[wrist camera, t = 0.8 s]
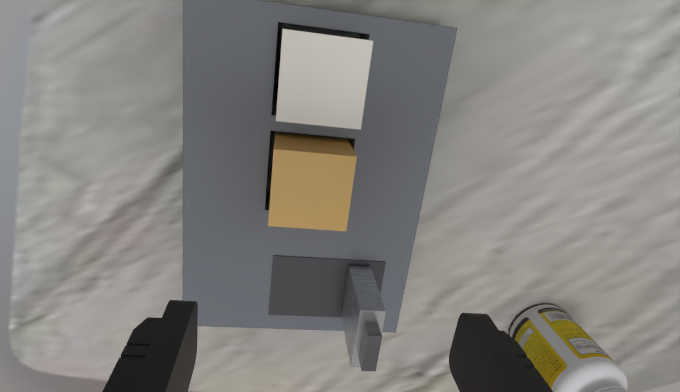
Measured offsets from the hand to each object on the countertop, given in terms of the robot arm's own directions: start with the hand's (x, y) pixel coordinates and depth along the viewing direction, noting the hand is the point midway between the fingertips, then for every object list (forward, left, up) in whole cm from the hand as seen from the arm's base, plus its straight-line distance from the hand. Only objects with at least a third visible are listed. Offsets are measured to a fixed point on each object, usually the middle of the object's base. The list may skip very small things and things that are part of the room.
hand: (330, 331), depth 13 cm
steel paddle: (+8, +4, -15) cm, 17 cm away
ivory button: (-6, 0, -16) cm, 17 cm away
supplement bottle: (+13, +21, -18) cm, 31 cm away
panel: (+1, 0, -18) cm, 18 cm away
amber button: (0, 0, -16) cm, 16 cm away
